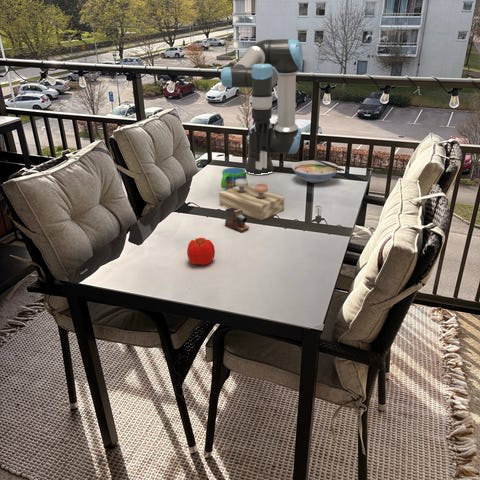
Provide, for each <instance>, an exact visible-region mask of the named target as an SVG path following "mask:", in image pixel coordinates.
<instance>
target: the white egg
mask: <svg viewBox="0 0 480 480" xmlns="http://www.w3.org/2000/svg"><path fill="white" fill-rule="evenodd" d="M248 182H249V181H248V179H236V180H235V185H236V186H238V187H239V193H244V187H245V186H248V187H249V185H248V184H249V183H248Z"/></svg>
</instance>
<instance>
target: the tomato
mask: <svg viewBox="0 0 480 480" xmlns="http://www.w3.org/2000/svg"><path fill="white" fill-rule="evenodd" d="M215 253H216V249H215V245H214V243H213V242H212V241H211V240H210V239H206V238H205V237H198V238H195V239H191V240H190V241H189V243H188V245H187V249H186V255H187V258H188V260H189V262H190V263H192V264H194V265H201V266H204V265H208V264H210V263H211V261H212V260H213V259H214V258H215Z"/></svg>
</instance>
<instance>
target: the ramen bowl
mask: <svg viewBox="0 0 480 480" xmlns="http://www.w3.org/2000/svg"><path fill="white" fill-rule="evenodd" d="M291 169H292V171H293V172H294V174H295V175H296V176H297V177H298V178H299V179H300V180H302V181H305V182H307V183H309V182H310V183H309V184H320V182H321V183H322V182H326V181H329V180H330V179H332V178H333V177H334V176H336V174H337V173H338V172H344V171H345V169H344V168H341V167H339V165H337V164H336V163H333V162H330V161H323V160H318V159H315V158H311V160H302V161H297V162H295V163H293V164H292V165H291Z"/></svg>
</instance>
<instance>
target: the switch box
mask: <svg viewBox="0 0 480 480" xmlns="http://www.w3.org/2000/svg"><path fill="white" fill-rule="evenodd" d="M284 204H285V197H284V196H281V195H279V194H275V193H271V192H268V191H267V192H265V193H263V199H259V193H257V192H255V187H252V186H251V187H250V186H249V185H248V186H245V187H244V193H239V187H238V186H236V187H234V188H231V189H228V190H226V189H225V190H222V191H219V206H220V205H221V206H220V207H222V206H225V207H227V208H226V209H228V208H235V209H241V210H242V212H243V215H244V216H245V215H246V216H248V217H251V218H254V219H257V220H260V221H262V220H265V219H267V218H269V217H272V216H274V215H277V214H279V213H281V212H284V209H285V208H284V206H285V205H284ZM225 207H224V208H225Z"/></svg>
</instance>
